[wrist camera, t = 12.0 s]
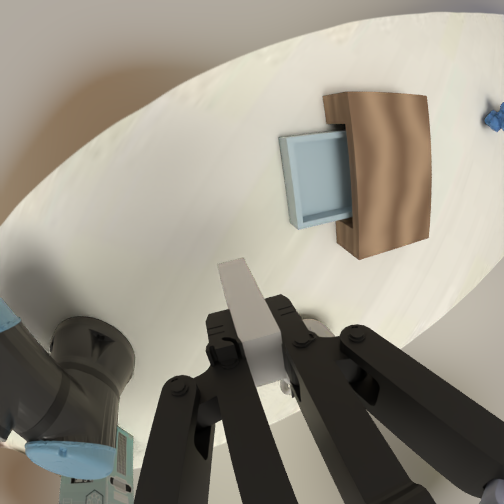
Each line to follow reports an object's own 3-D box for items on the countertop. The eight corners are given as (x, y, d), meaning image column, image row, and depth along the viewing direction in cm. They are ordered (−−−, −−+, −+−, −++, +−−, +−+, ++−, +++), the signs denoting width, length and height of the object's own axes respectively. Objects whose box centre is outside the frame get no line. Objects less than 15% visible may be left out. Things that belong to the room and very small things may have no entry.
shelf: (336, 242, 44) (358, 260, 38) (322, 96, 34) (347, 91, 28) (404, 224, 45) (428, 237, 40) (398, 96, 36) (426, 95, 30)
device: (111, 420, 49) (108, 543, 22) (133, 436, 52) (138, 550, 25) (67, 432, 48) (57, 536, 22) (89, 447, 52) (85, 545, 25)
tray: (290, 222, 40) (298, 229, 38) (278, 137, 35) (286, 138, 33) (399, 198, 43) (411, 203, 41) (396, 127, 38) (408, 128, 35)
